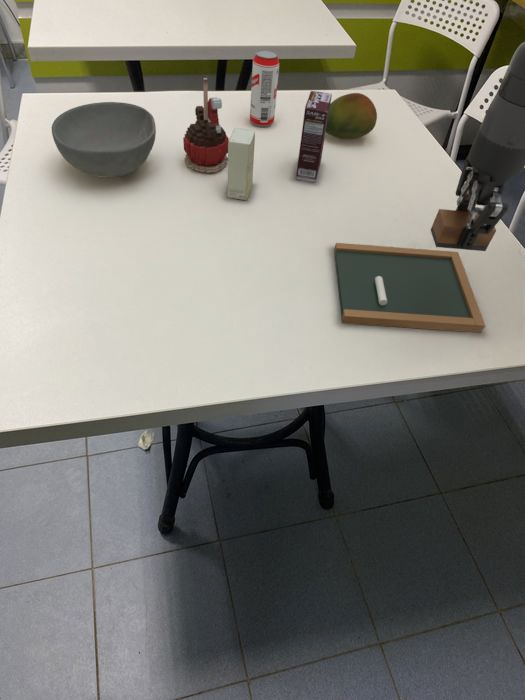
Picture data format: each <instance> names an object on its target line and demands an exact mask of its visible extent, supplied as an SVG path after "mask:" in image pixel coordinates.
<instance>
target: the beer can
mask: <svg viewBox="0 0 525 700" xmlns="http://www.w3.org/2000/svg"><path fill="white" fill-rule="evenodd" d="M278 55H279V53H278V52H277V51H275V50H273V49H268V48H261V49H257V50H255V55H254V57H253V58H252V72H251V86H250V87H251V88H250V89H251V91H250V103H249V121H250V122H251V123H252V124H253V125H254V126H256V127H259V128H267V127H270V126H271V125H272V124H273V123H274V122H275V116H276V115H275V114H276V105H277V96H278V85H279V74H280V59H279V57H278Z"/></svg>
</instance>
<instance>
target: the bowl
mask: <svg viewBox="0 0 525 700" xmlns="http://www.w3.org/2000/svg"><path fill="white" fill-rule="evenodd" d="M156 133H157V127H156V122H155V118H154V116H153V114H152V113H151V112H149V111H148V110H147V109H146V108H144V107H142V106H139V105H137V104H133V103H128V102H119V101H101V102H93V103H87V104H82V105H78V106H76V107H72V108H70V109H67V110H65V111H64V112H62V113H61V114H58V116H57V117H56V118H55V119H54V121H53V122H52V124H51V135H52V139H53V141H54V144H55V146H56V149H57V150H58V152H59V154H60V155H61V156H62V158H63V159H64V160H65V161H66V162H67V163H68V164H69V165H70V166H72V167H73V168H75V169H76V170H78V171H80V172H81V173H84V174H86V175H90V176H93V177H99V178H117V177H122V176H125V175H128V174H130V173H132V172H134V171H136V170H138V169H139V168H140V167H141V166H142V165H144V163H145V162H146V161H147V159H148V157H149V155H150V153H151V151H152V149H153V148H154V144H155V141H156V136H157V135H156Z"/></svg>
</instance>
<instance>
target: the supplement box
mask: <svg viewBox="0 0 525 700" xmlns="http://www.w3.org/2000/svg"><path fill="white" fill-rule="evenodd" d="M332 96H333V94H332V93H328V92H323V91H315V90H310V92H309V94H308V98H307V100H306V103H305V106H304V114H303V121H302V129H301V136H300V144H299V152H298V153H299V154H298V158H297V167H296V173H295V180H298V181H302V182H308V183H317V179H318V176H319V171H320V167H321V165H322V164H321V163H322V158H323V151H324V146H325V145H324V144H325V139H326V133H327V132H326V127H327V121H328V115H329V109H330V104H331V103H332V102H331V101H332Z"/></svg>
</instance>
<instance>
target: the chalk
mask: <svg viewBox="0 0 525 700" xmlns="http://www.w3.org/2000/svg"><path fill="white" fill-rule="evenodd" d="M375 285H376V290H377V295H378V301H379V304H380V305H382V306H383V305H386V304H387V297H386V292H385V288H384V283H383V278H382V277H381V276H377V277H376V278H375Z"/></svg>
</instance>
